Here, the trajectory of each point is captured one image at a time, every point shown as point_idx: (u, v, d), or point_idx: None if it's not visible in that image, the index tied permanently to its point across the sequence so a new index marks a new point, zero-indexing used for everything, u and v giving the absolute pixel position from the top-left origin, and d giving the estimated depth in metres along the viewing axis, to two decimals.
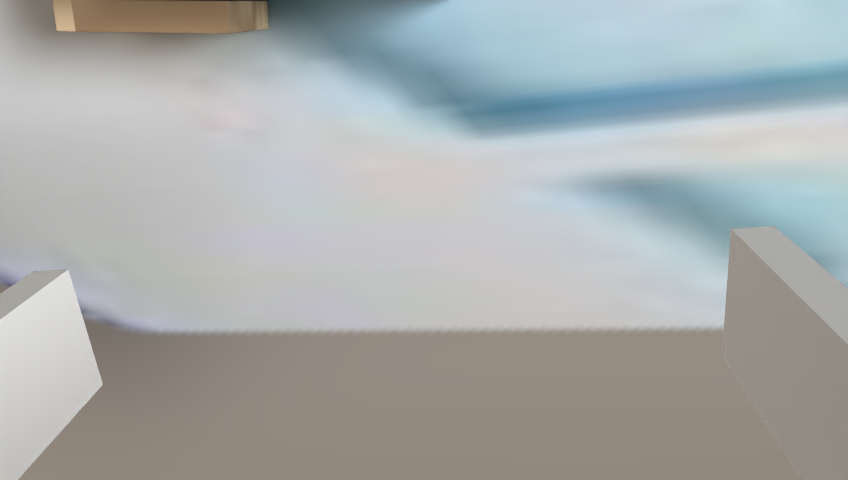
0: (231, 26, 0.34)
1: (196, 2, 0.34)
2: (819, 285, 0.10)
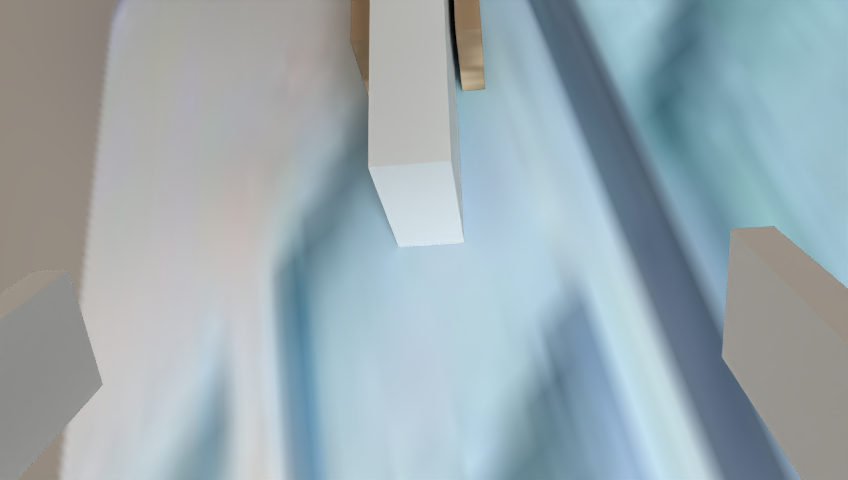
0: (356, 43, 0.41)
1: None
2: (819, 285, 0.10)
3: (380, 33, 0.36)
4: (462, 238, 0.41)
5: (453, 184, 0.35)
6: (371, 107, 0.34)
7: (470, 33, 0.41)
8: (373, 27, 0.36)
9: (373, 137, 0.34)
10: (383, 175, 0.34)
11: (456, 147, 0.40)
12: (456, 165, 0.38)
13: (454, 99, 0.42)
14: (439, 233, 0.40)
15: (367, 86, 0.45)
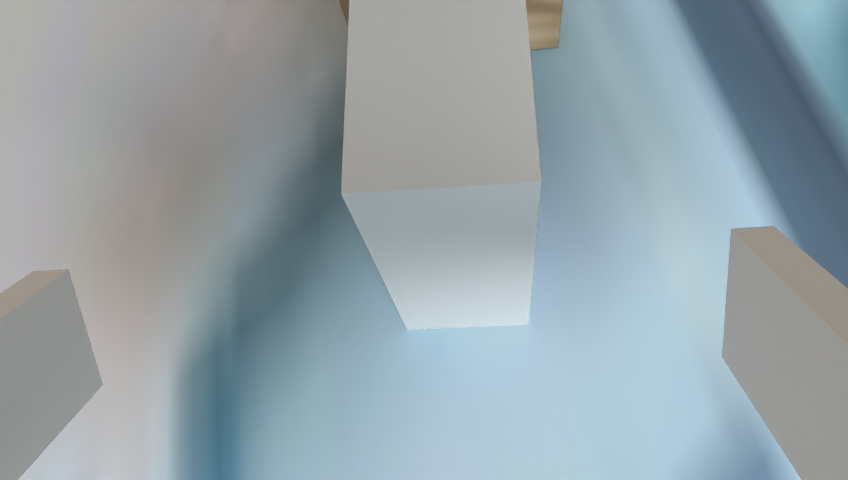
0: None
1: None
2: (819, 285, 0.10)
3: None
4: (527, 318, 0.22)
5: (533, 231, 0.16)
6: (353, 55, 0.15)
7: None
8: None
9: (356, 123, 0.15)
10: (378, 211, 0.15)
11: None
12: None
13: None
14: (485, 311, 0.21)
15: None
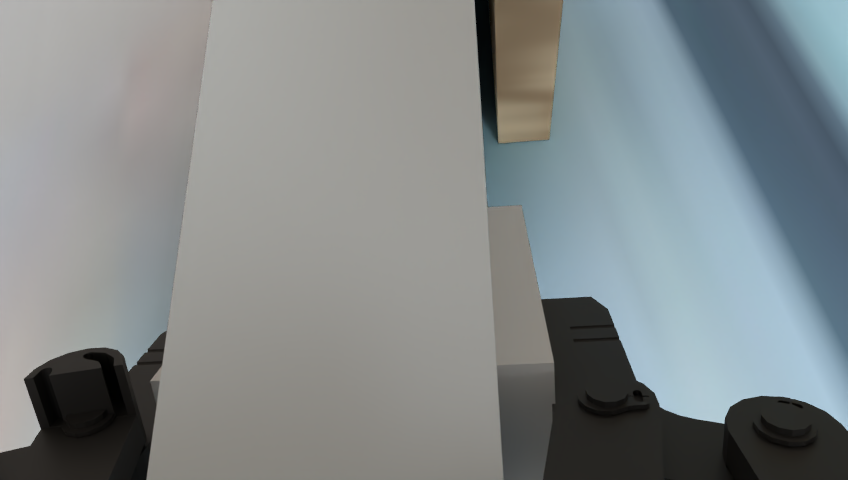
0: None
1: None
2: (512, 249, 0.13)
3: None
4: None
5: None
6: (187, 262, 0.09)
7: (533, 8, 0.15)
8: None
9: (178, 401, 0.08)
10: None
11: None
12: None
13: None
14: None
15: None
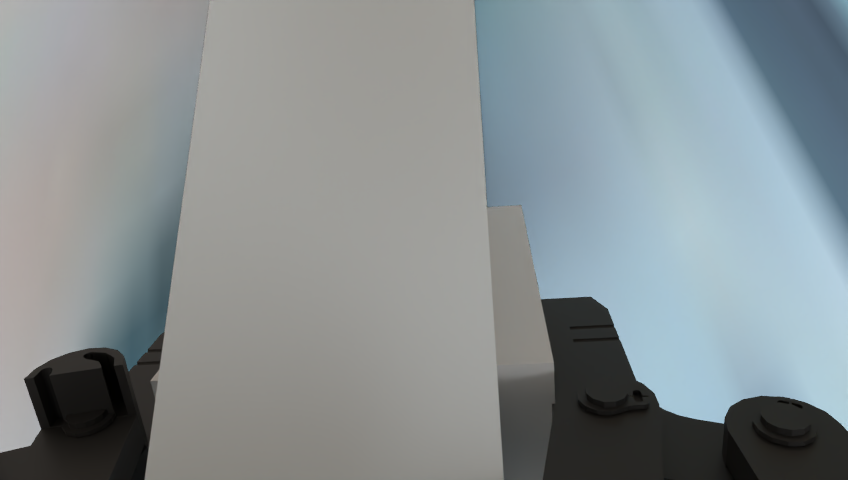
0: None
1: None
2: (512, 249, 0.13)
3: None
4: None
5: None
6: (185, 257, 0.09)
7: None
8: None
9: (176, 396, 0.08)
10: None
11: None
12: None
13: None
14: None
15: None
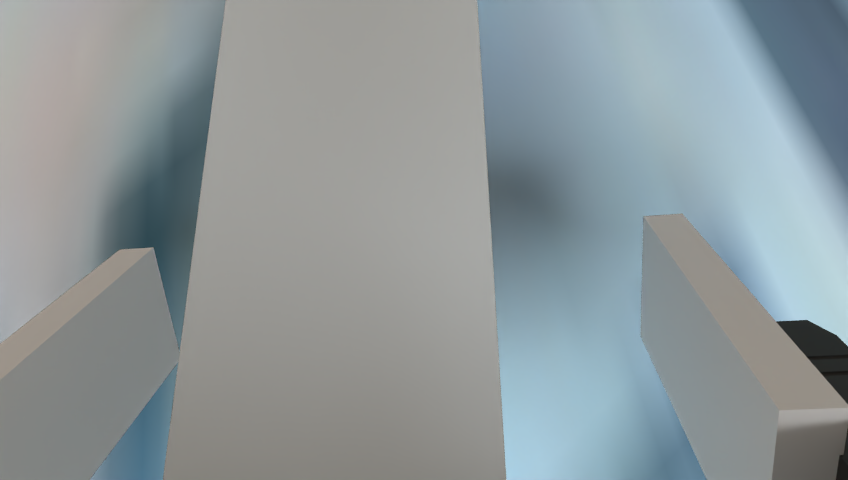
0: None
1: None
2: (705, 265, 0.11)
3: (262, 0, 0.11)
4: None
5: None
6: (200, 271, 0.09)
7: None
8: None
9: (193, 405, 0.08)
10: None
11: None
12: None
13: None
14: None
15: None
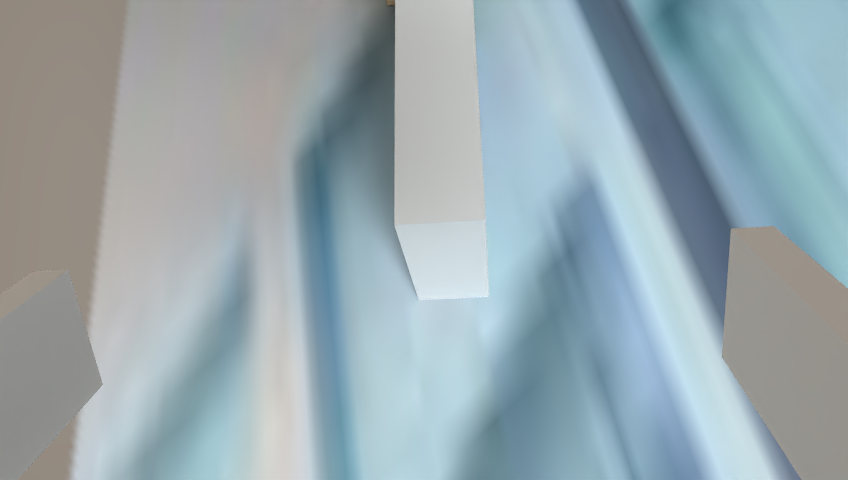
0: None
1: None
2: (819, 285, 0.10)
3: (407, 76, 0.34)
4: (487, 292, 0.38)
5: (485, 242, 0.32)
6: (397, 158, 0.32)
7: None
8: (399, 69, 0.34)
9: (400, 191, 0.31)
10: (410, 233, 0.31)
11: None
12: None
13: None
14: (463, 287, 0.38)
15: None
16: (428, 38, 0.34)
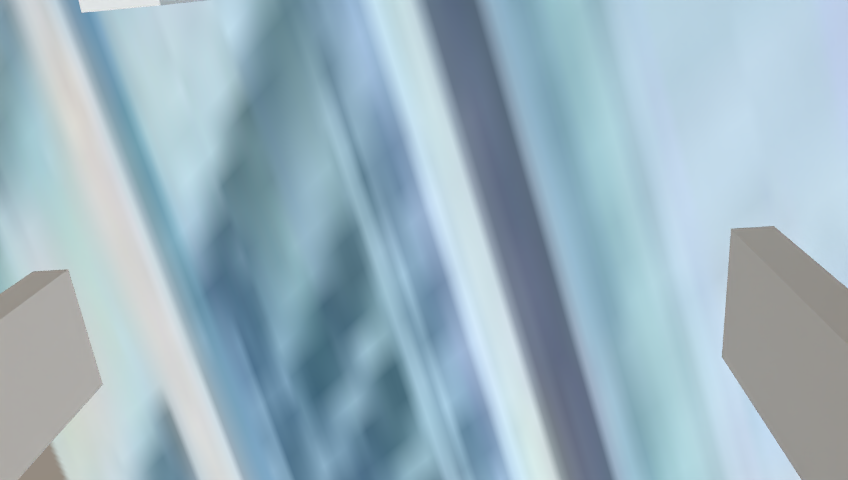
0: None
1: None
2: (819, 285, 0.10)
3: None
4: None
5: (178, 2, 0.35)
6: None
7: None
8: None
9: None
10: None
11: None
12: None
13: None
14: None
15: None
16: None
